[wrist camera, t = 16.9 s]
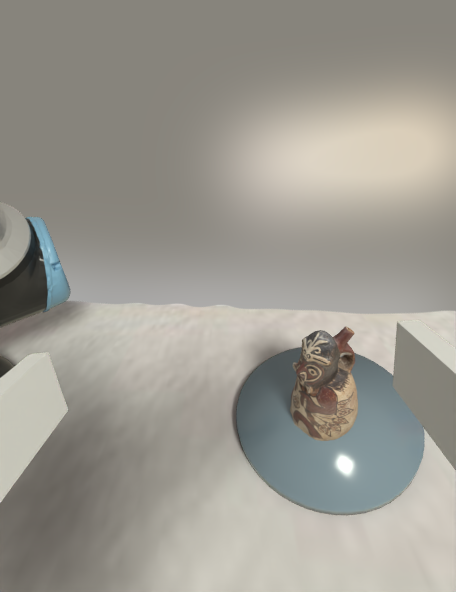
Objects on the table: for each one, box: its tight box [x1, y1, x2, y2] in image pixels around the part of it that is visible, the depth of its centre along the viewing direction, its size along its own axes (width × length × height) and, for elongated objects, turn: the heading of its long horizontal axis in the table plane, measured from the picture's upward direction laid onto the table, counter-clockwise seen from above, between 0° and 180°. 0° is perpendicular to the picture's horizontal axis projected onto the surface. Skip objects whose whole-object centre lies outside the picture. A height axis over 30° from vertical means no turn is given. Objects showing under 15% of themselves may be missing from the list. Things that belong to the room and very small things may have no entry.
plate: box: [236, 347, 424, 515], centre depth 37 cm, size 20×20×1 cm
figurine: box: [290, 327, 358, 441], centre depth 33 cm, size 7×7×12 cm
